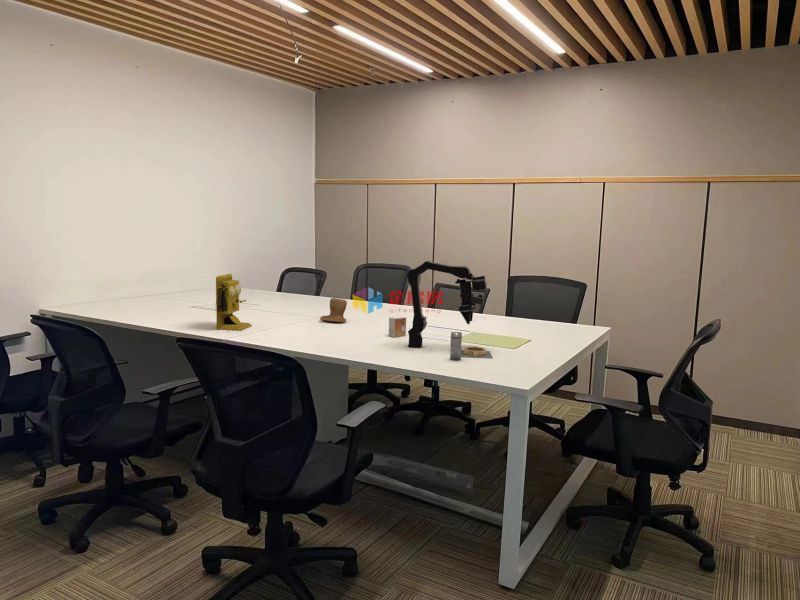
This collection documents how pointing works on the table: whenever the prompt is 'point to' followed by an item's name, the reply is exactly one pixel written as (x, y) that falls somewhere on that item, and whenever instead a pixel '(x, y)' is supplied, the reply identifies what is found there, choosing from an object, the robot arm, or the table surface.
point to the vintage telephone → (228, 304)
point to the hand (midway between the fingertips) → (469, 322)
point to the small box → (397, 326)
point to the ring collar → (474, 351)
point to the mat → (488, 355)
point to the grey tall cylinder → (455, 346)
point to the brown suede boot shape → (336, 311)
